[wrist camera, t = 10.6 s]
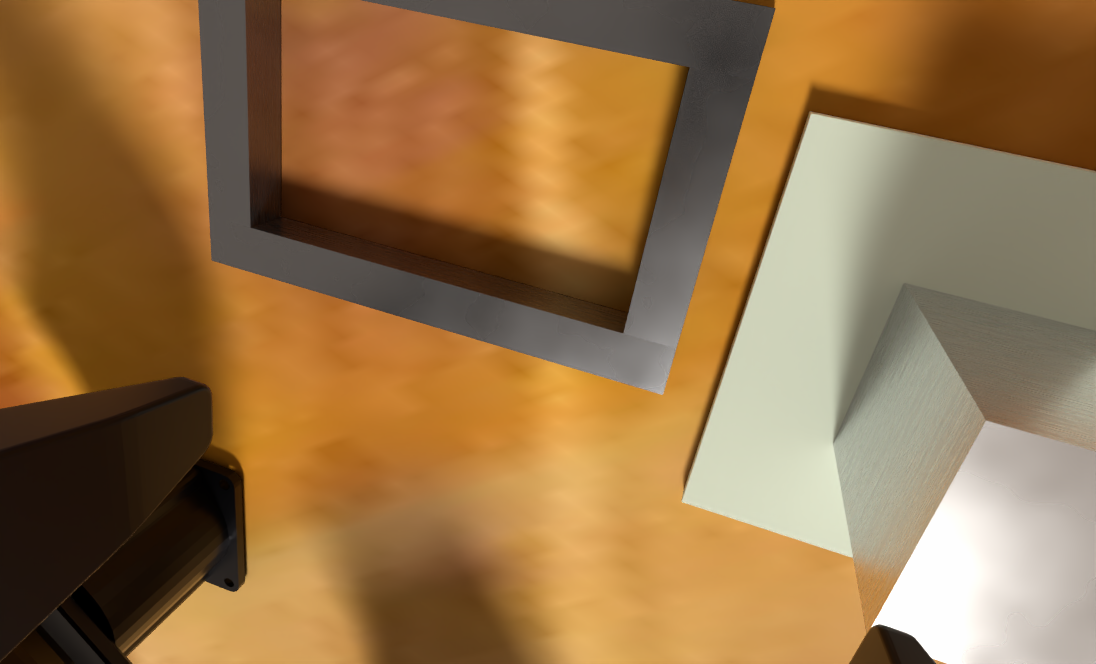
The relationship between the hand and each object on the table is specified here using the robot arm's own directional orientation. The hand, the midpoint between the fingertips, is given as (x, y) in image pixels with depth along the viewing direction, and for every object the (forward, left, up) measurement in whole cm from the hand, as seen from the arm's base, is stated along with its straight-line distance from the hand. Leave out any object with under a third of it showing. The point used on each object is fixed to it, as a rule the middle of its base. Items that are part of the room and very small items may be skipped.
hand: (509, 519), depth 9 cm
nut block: (-1, -9, -11) cm, 14 cm away
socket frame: (+2, +6, -12) cm, 13 cm away
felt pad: (-1, -9, -12) cm, 15 cm away
